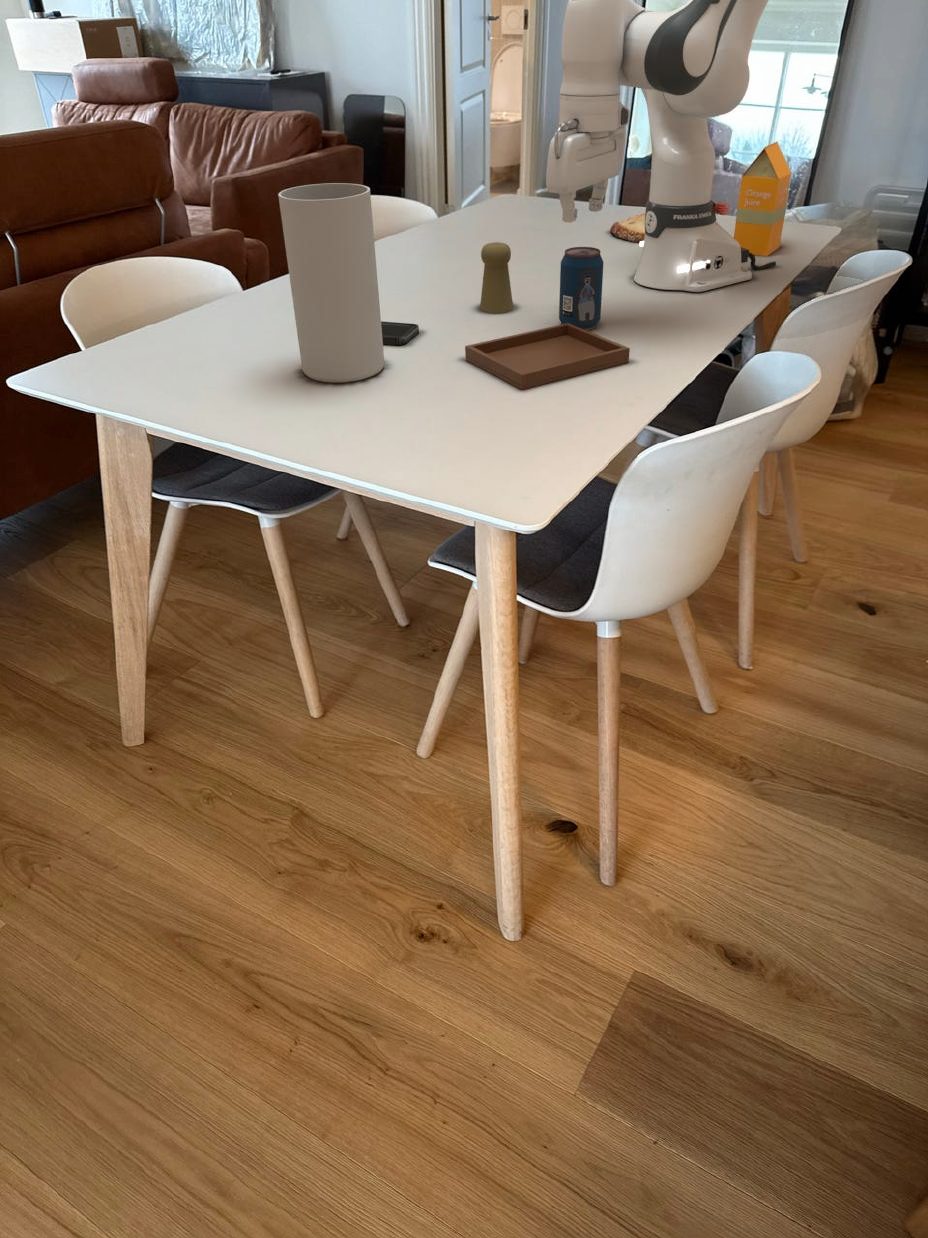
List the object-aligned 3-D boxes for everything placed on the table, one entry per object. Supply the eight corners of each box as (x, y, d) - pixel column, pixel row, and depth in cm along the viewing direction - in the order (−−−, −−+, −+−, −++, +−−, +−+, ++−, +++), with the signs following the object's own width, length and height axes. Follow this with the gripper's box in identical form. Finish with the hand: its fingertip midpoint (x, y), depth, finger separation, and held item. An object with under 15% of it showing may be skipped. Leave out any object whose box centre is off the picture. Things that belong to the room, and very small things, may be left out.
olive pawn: (510, 313, 159) (510, 247, 153) (476, 312, 160) (475, 247, 154) (515, 303, 164) (515, 239, 158) (483, 302, 165) (481, 238, 159)
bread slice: (700, 244, 196) (702, 226, 194) (617, 247, 197) (618, 228, 194) (685, 226, 211) (687, 209, 209) (607, 229, 211) (608, 211, 209)
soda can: (576, 316, 156) (579, 243, 149) (608, 324, 152) (613, 249, 145) (550, 326, 152) (552, 251, 146) (582, 334, 148) (585, 258, 141)
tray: (567, 336, 148) (568, 322, 147) (628, 362, 137) (629, 347, 136) (465, 359, 140) (464, 345, 139) (521, 389, 129) (521, 374, 128)
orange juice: (780, 246, 193) (797, 141, 181) (767, 256, 187) (784, 147, 175) (744, 243, 196) (758, 139, 185) (730, 252, 190) (744, 145, 179)
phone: (403, 338, 145) (319, 331, 150) (403, 345, 146) (320, 338, 150) (420, 324, 152) (340, 317, 156) (421, 330, 152) (340, 324, 156)
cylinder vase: (351, 389, 131) (331, 203, 117) (285, 375, 136) (259, 196, 122) (400, 363, 139) (388, 186, 125) (337, 351, 145) (318, 180, 131)
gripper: (577, 124, 126) (571, 230, 134) (634, 110, 140) (626, 206, 148) (537, 122, 129) (534, 226, 136) (597, 108, 143) (591, 203, 151)
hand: (582, 215), depth 142 cm, fingers open, 8 cm apart
